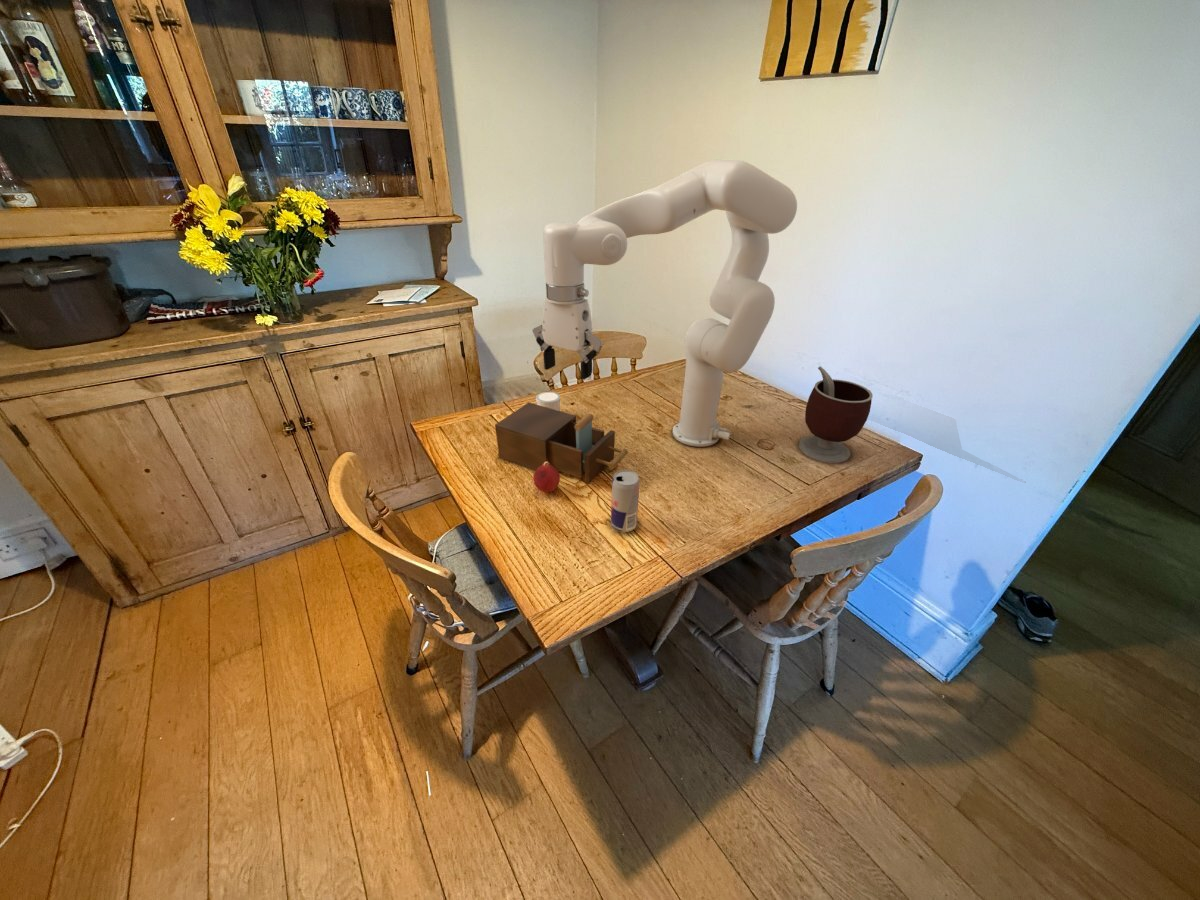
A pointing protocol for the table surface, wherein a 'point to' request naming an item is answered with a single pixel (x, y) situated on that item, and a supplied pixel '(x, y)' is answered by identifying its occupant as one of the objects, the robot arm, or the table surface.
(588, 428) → the caddy
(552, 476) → the onion
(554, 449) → the drawer
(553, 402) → the brown white round container
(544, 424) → the cabinet
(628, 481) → the energy drink
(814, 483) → the table surface
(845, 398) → the mate gourd
